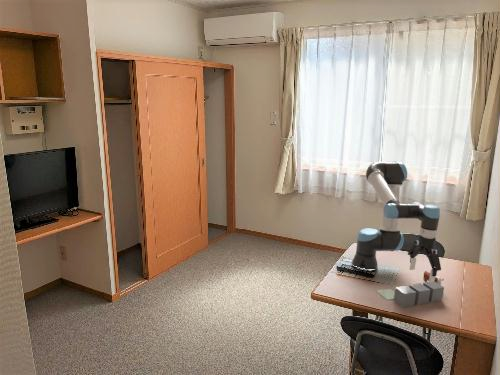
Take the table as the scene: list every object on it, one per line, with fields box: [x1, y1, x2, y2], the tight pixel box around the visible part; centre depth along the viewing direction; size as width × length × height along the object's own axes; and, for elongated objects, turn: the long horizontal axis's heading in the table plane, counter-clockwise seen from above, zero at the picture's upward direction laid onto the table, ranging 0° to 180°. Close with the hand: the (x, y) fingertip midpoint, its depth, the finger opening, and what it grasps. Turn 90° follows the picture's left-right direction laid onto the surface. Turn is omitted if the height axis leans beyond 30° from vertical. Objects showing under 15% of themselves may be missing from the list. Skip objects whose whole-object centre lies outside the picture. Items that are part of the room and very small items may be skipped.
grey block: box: [393, 285, 416, 309], centre depth 195 cm, size 7×7×8 cm
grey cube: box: [422, 281, 445, 303], centre depth 201 cm, size 7×7×8 cm
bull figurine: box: [423, 270, 444, 286], centre depth 212 cm, size 4×13×8 cm, turn 15°
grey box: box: [408, 282, 430, 306], centre depth 198 cm, size 7×7×8 cm
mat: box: [376, 288, 395, 301], centre depth 204 cm, size 9×9×1 cm
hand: (421, 275), depth 195 cm, fingers open, 13 cm apart
